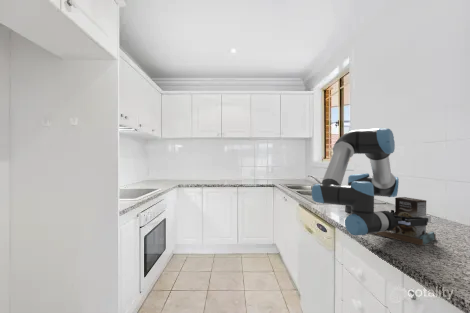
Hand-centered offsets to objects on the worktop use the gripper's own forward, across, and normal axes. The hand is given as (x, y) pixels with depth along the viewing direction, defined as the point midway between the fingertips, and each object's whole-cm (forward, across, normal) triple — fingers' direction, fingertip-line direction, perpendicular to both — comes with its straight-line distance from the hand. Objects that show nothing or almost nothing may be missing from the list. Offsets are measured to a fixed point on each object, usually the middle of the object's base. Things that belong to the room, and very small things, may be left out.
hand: (417, 215), depth 108 cm
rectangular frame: (-5, -4, -9) cm, 11 cm away
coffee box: (-5, 0, -9) cm, 10 cm away
